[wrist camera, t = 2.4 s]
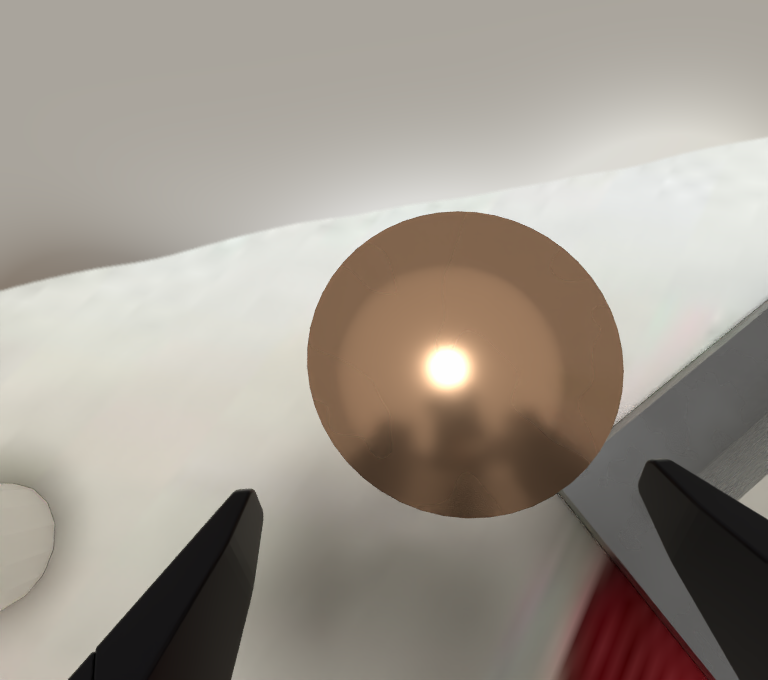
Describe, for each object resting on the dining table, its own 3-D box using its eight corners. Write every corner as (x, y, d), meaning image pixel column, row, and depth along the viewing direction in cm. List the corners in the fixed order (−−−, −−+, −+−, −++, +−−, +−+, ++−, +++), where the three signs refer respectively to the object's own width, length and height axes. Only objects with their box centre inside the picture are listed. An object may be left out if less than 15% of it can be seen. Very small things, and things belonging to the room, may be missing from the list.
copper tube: (483, 423, 19) (699, 381, 5) (410, 481, 18) (433, 603, 5) (427, 351, 20) (481, 159, 6) (356, 404, 19) (245, 319, 6)
